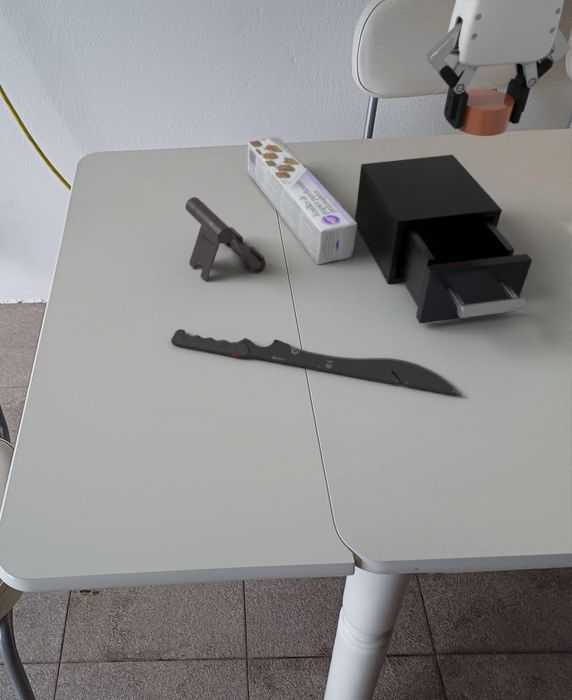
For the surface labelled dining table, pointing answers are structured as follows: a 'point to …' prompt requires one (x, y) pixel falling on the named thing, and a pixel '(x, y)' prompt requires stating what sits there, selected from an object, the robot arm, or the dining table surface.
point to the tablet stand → (218, 240)
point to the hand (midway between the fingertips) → (481, 120)
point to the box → (302, 201)
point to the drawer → (461, 270)
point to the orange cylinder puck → (487, 112)
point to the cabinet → (414, 202)
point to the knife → (324, 362)
